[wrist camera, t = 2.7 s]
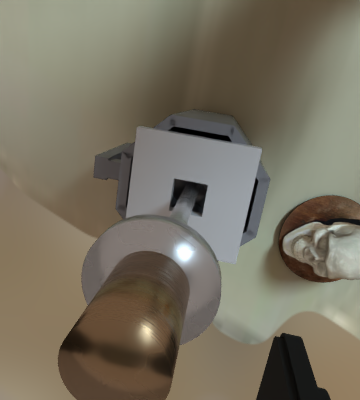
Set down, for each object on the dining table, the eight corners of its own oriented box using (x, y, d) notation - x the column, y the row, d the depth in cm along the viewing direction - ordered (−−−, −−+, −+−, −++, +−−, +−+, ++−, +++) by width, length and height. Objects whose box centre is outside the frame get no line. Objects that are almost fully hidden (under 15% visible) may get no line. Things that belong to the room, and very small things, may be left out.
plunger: (250, 144, 30) (311, 267, 8) (231, 233, 32) (235, 517, 10) (156, 127, 31) (-33, 195, 9) (144, 215, 33) (-27, 446, 11)
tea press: (260, 120, 42) (283, 135, 24) (240, 209, 46) (247, 280, 27) (142, 100, 43) (81, 99, 25) (131, 188, 47) (70, 243, 29)
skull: (275, 288, 47) (286, 267, 38) (274, 218, 51) (284, 185, 42) (369, 296, 45) (405, 276, 36) (361, 223, 49) (391, 189, 40)
